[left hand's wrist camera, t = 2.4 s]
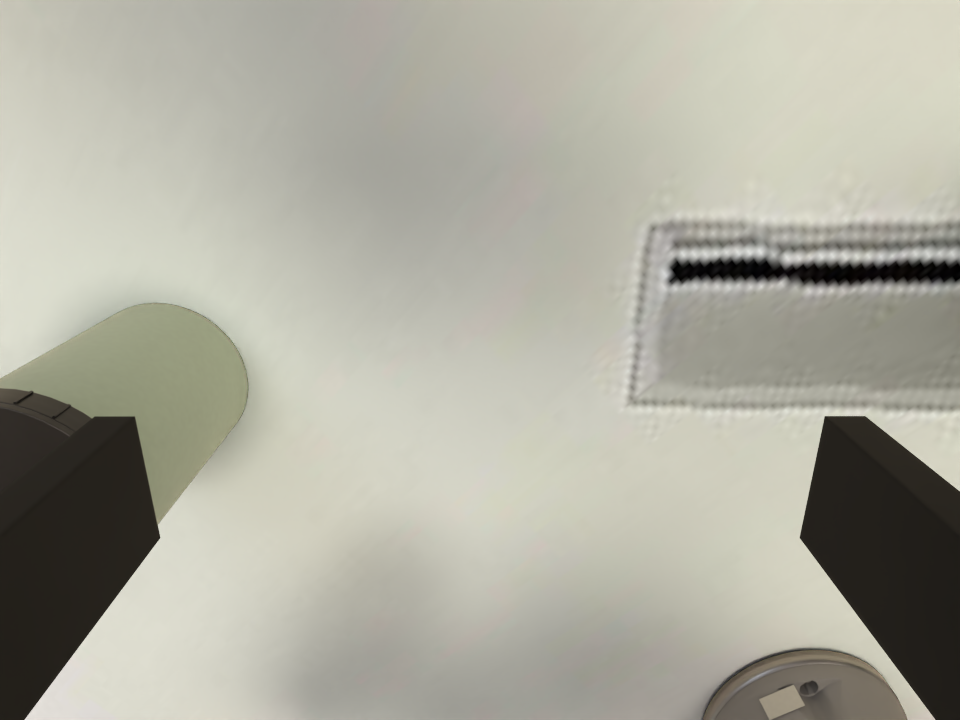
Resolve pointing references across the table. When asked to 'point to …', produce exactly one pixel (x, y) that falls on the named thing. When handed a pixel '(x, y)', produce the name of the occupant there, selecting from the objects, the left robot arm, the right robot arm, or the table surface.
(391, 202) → the table surface
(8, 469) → the lid
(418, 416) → the table surface
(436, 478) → the table surface
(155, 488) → the jar
